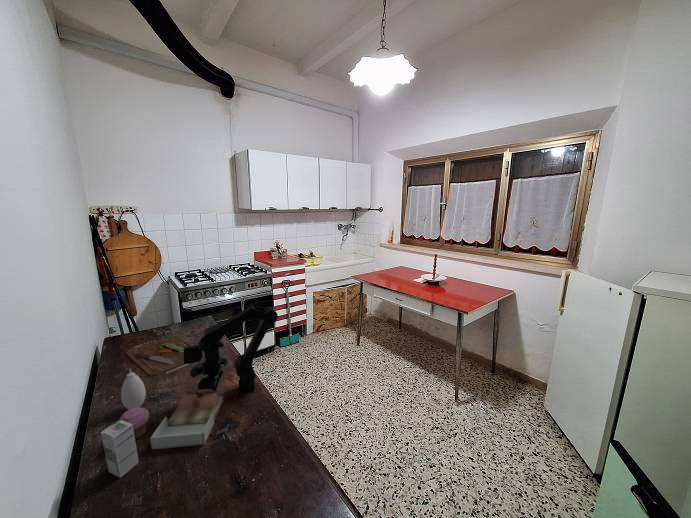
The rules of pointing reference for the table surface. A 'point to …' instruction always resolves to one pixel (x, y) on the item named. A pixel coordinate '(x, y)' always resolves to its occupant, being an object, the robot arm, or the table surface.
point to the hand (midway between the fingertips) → (215, 390)
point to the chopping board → (159, 355)
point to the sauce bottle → (133, 391)
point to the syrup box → (120, 448)
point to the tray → (181, 434)
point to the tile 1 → (187, 402)
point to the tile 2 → (208, 401)
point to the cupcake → (137, 420)
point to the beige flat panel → (194, 414)
